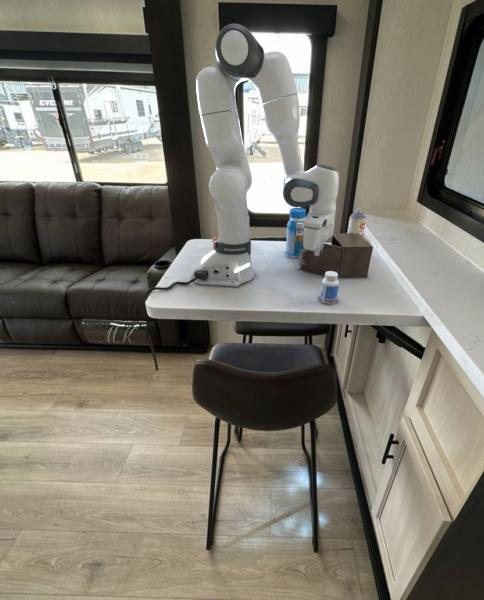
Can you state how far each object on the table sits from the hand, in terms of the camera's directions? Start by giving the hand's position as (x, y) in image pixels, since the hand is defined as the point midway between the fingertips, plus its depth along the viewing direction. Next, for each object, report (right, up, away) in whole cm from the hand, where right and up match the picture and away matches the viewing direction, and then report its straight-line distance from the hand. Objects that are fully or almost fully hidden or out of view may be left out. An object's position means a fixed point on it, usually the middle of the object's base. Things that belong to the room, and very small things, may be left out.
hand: (317, 254), depth 111 cm
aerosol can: (+20, +5, +29) cm, 35 cm away
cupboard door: (+1, -7, +7) cm, 10 cm away
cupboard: (+14, -4, +13) cm, 19 cm away
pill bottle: (+2, -17, -9) cm, 19 cm away
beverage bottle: (-7, +3, +25) cm, 26 cm away
